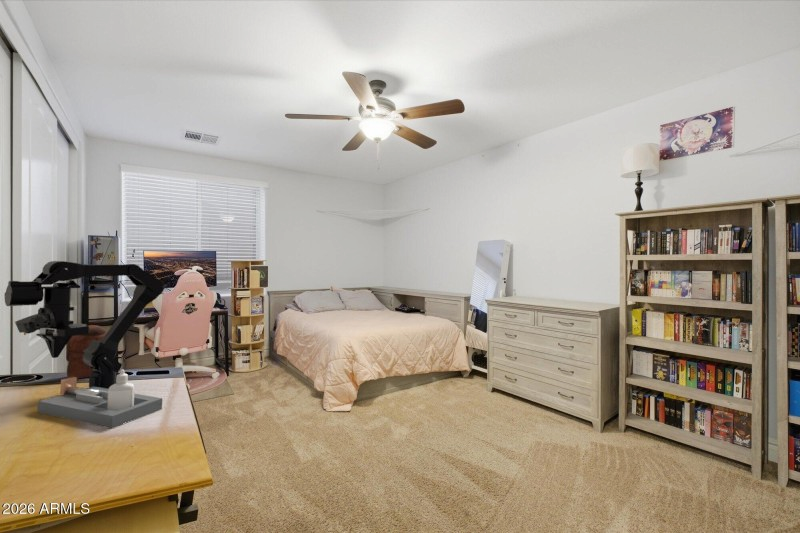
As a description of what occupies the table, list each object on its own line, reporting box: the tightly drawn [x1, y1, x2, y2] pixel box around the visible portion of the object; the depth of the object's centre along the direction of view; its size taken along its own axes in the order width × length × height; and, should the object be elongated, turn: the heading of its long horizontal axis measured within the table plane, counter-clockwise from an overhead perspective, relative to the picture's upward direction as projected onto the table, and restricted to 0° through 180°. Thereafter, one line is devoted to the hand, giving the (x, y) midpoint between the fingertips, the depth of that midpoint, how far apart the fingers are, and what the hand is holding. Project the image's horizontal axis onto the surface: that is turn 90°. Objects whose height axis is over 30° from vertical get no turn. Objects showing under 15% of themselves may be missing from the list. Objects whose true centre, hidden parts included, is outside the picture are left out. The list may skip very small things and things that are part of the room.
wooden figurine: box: [65, 324, 107, 379], centre depth 130 cm, size 12×6×18 cm, turn 137°
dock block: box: [37, 386, 163, 429], centre depth 100 cm, size 14×27×4 cm, turn 73°
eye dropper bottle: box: [107, 369, 135, 411], centre depth 98 cm, size 4×6×12 cm
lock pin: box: [60, 377, 101, 396], centre depth 103 cm, size 3×12×4 cm, turn 73°
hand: (55, 357), depth 106 cm, fingers closed
